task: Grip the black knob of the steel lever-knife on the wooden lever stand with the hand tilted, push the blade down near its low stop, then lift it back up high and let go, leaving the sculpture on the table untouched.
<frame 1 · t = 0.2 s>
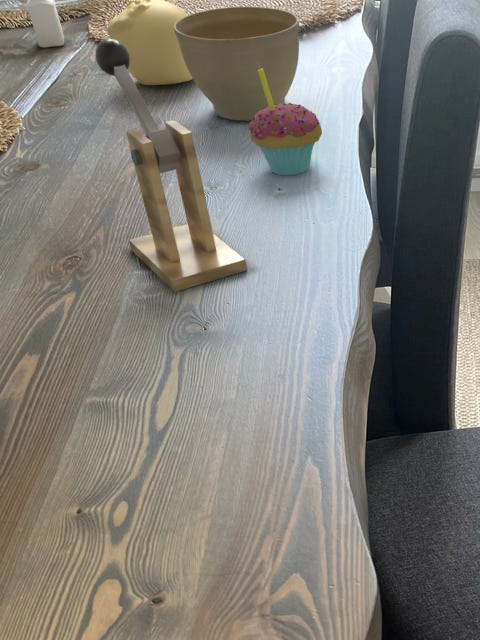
cupcake: (291, 169, 124), on the table
knife lever: (137, 103, 99), point 14 cm above the table, hinge at 35.0°
wooden lever stand: (188, 260, 106), on the table
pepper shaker: (53, 45, 164), on the table
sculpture: (167, 82, 149), on the table
planter bowl: (251, 112, 139), on the table
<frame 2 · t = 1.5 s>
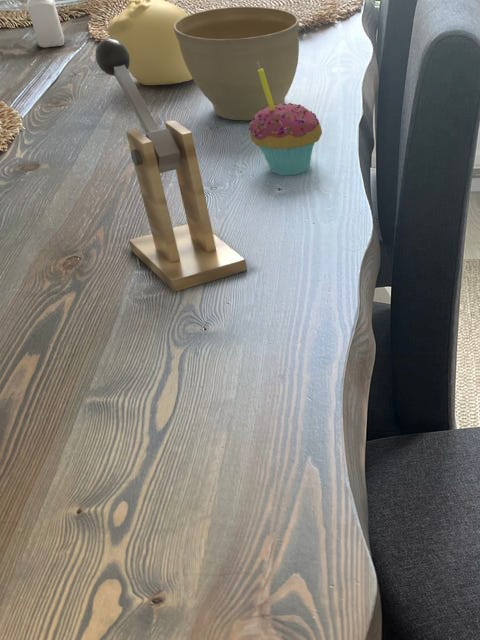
nothing on the table moved.
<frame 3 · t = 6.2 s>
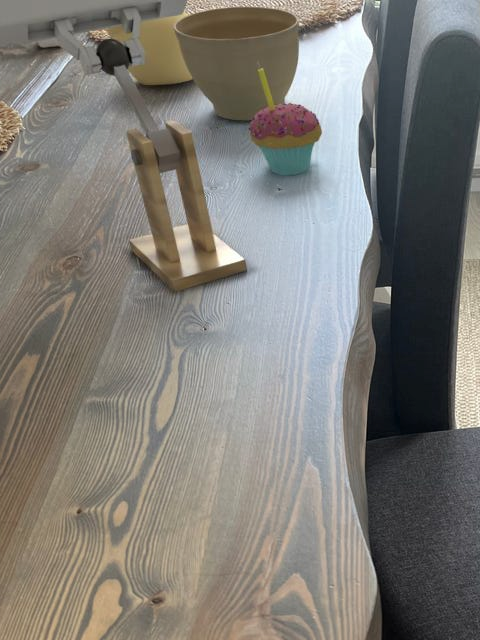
hand: (117, 66, 99), 17 cm above the table, tool tilted 45°, fingers closed on knife lever, 3 cm apart
knife lever: (137, 103, 99), point 14 cm above the table, hinge at 35.0°, touching gripper
everything else where it was.
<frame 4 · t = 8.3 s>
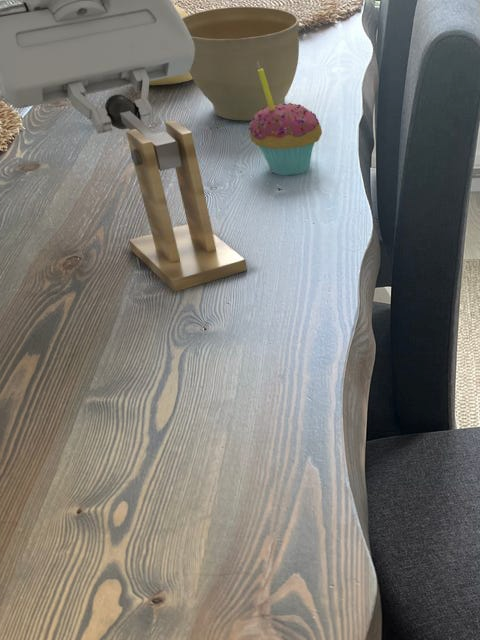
hand: (126, 124, 104), 11 cm above the table, tool tilted 45°, fingers closed on knife lever, 3 cm apart
knife lever: (140, 130, 101), point 11 cm above the table, hinge at 4.3°, touching gripper
everything else where it was.
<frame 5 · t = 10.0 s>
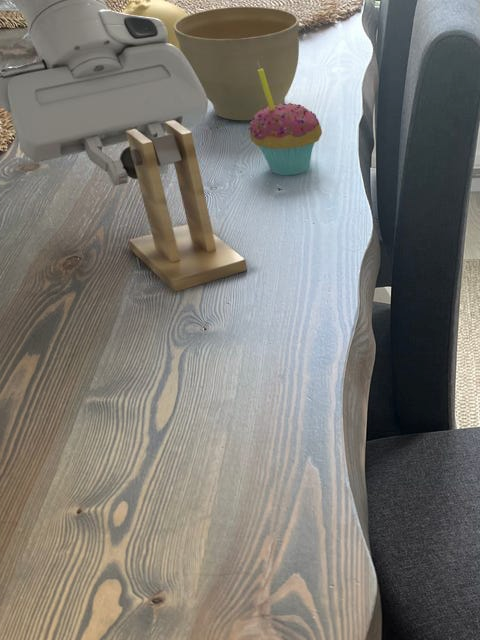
hand: (142, 176, 107), 6 cm above the table, tool tilted 45°, fingers closed on knife lever, 3 cm apart
knife lever: (148, 157, 103), point 9 cm above the table, hinge at -21.3°, touching gripper
everything else where it was.
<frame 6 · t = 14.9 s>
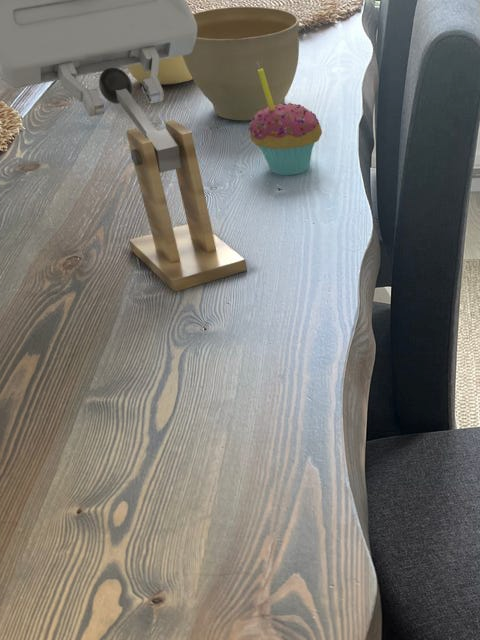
hand: (127, 105, 101), 13 cm above the table, tool tilted 45°, fingers open, 5 cm apart
knife lever: (138, 117, 100), point 13 cm above the table, hinge at 18.2°
everything else where it was.
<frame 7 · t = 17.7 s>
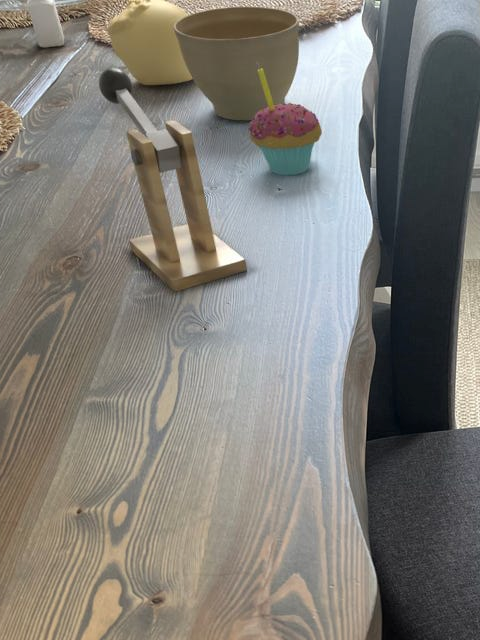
nothing on the table moved.
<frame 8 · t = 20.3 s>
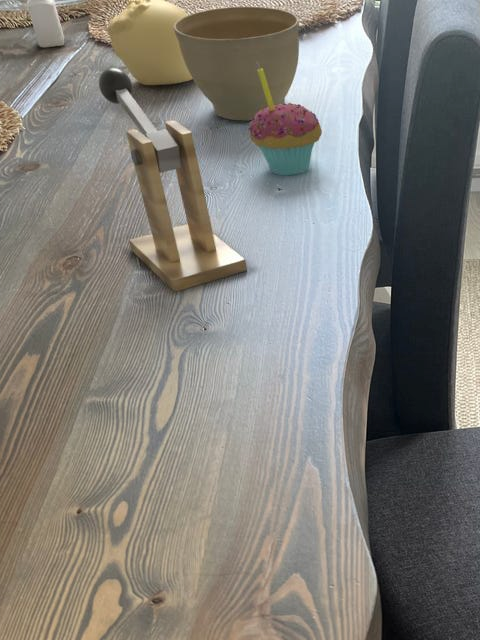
nothing on the table moved.
at the end: knife lever reached -21° during the clip, +18° at the end; knife lever at +18° (first picture: +35°); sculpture moved 0.2 cm from its start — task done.
